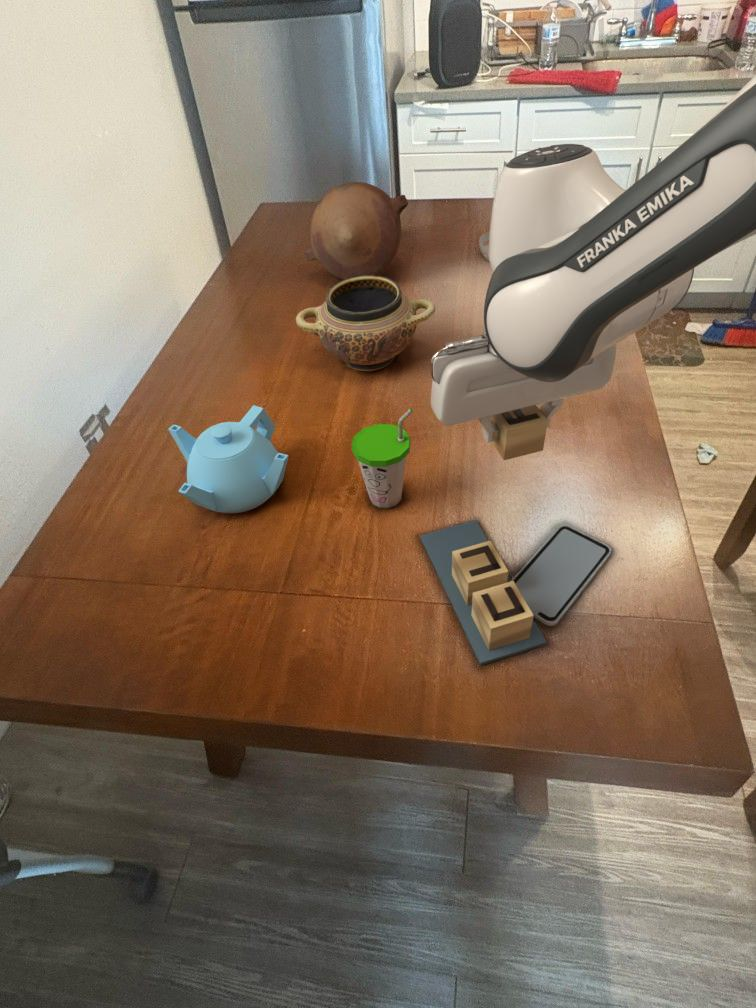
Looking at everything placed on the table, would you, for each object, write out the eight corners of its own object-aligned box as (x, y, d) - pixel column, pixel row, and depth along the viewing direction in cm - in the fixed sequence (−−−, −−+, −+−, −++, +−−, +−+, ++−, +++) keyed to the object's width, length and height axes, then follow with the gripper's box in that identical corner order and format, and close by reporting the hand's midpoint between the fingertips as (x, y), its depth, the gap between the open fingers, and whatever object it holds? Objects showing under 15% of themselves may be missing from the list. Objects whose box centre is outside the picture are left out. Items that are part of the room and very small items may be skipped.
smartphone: (614, 548, 77) (553, 626, 69) (613, 553, 77) (552, 630, 70) (562, 522, 80) (499, 593, 73) (561, 527, 81) (498, 598, 73)
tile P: (543, 450, 71) (548, 419, 68) (503, 460, 70) (506, 429, 67) (524, 425, 74) (528, 394, 71) (486, 435, 74) (488, 404, 70)
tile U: (505, 594, 73) (508, 570, 69) (467, 605, 72) (468, 582, 69) (488, 563, 76) (490, 539, 73) (451, 574, 75) (452, 550, 72)
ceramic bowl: (301, 392, 111) (283, 331, 98) (311, 322, 120) (296, 258, 107) (435, 390, 109) (434, 327, 96) (435, 319, 117) (435, 253, 104)
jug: (382, 303, 127) (409, 264, 150) (399, 202, 115) (427, 178, 138) (290, 279, 129) (332, 245, 152) (298, 178, 117) (342, 157, 140)
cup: (349, 508, 85) (336, 425, 75) (372, 473, 90) (363, 389, 80) (400, 523, 83) (394, 438, 72) (421, 485, 88) (418, 401, 77)
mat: (546, 644, 68) (546, 641, 68) (480, 665, 67) (480, 663, 67) (475, 522, 82) (476, 519, 81) (420, 538, 81) (420, 535, 80)
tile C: (529, 638, 68) (534, 614, 65) (488, 650, 68) (491, 627, 64) (510, 603, 72) (513, 579, 68) (471, 615, 71) (472, 591, 68)
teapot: (301, 506, 87) (288, 448, 79) (197, 536, 84) (172, 480, 76) (278, 443, 97) (264, 387, 89) (184, 468, 94) (162, 413, 87)
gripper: (442, 363, 58) (441, 470, 67) (635, 320, 60) (607, 428, 70) (420, 331, 62) (423, 436, 72) (601, 292, 65) (580, 398, 75)
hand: (515, 432), depth 71 cm, fingers closed on tile P, 5 cm apart
